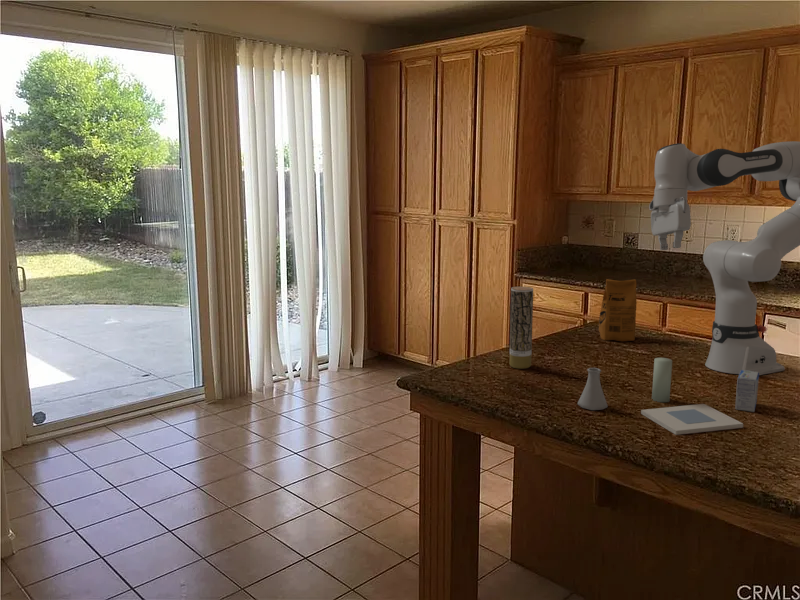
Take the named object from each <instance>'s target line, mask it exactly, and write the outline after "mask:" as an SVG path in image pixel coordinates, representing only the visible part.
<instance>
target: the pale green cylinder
mask: <svg viewBox="0 0 800 600" xmlns="http://www.w3.org/2000/svg"><path fill="white" fill-rule="evenodd" d="M653 362H654V363H653V373H652V374H653V375H652V391H651V400H652V399H653V400H652V401H654V402H656V401H657V403H669V402H670V397H671V386H672V385H671V383H672V373H673V372H672V370H673V359H671V358H667V357H655V358H654V360H653Z"/></svg>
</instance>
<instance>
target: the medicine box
mask: <svg viewBox="0 0 800 600" xmlns="http://www.w3.org/2000/svg"><path fill="white" fill-rule="evenodd" d="M759 379H760V375H759V372H754V371H746V370H741V371H740V374H738V377H737V381H736V393H735V395H736V396H735V404H734V405H735V407H734V408H735V410H738V411H743V412H751V413H755V411H756V407H757V404H758V403H757V402H758V390H759Z"/></svg>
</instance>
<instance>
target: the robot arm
mask: <svg viewBox="0 0 800 600" xmlns="http://www.w3.org/2000/svg"><path fill="white" fill-rule="evenodd" d="M653 171H654V172H653V173H654V175H653V176H654V180H655V187H654V191H653V193H654V194H653V197H652V200H651V202H650V203H649V206H648V208H649V211H651V212H650V228H651V229H650V231H651V234H652V236H654V237H655V236H657V239H658V243H659V250H660V251H667V250H668V249H669V243H668V240H667V238H668V235H671V234H673V236H674V238H673V241H672V248H673V249H680V248H681V247H682V240H683V238H684V232H686V231H689V230H690V229H691V227H692V222H691V221H692V220H691V218H692V217H691V206H690V205H689V203H688V192H689V191H691V192H699V191H704V190H707V189H711V188H714V187H723V186H726V185H729V184H731V183H732V182H734V181H735V180H737V179H738V178H740V177H744V176H750V175H751V177H752V178H753V179H754V180H756V181H758V182H776V181H777V182H778V186H779V187H778V188H779V192H780V195H782V197H783V198H785V199H786V200H788V201H792V202H794V203H793V205H791V206H790V208H788V209H785V210H784V211H782V212H781V213H779V214H777V215H775V216H774V217H772V218H771V219H769V220H768V221H766V222H764V223H762V224H761V225H760V226H759V228H758V229H757V231H756V232H757V233H756V234H757V235H756V237H755V238H753V239H752V240H749V241H748V240H747V241H737V240H730V239H728V240H727V239H725V240H719V241H714V242H711V243H709V244H708V245H707V247H706V248H705V250H704V252H703V255H702V259H703V260H702V261H703V264H704V265H705V267H706V269H707V270H708V272H709V273H710V274H709V275H710V276H711V279H712V283H713V287H714V293H715V308H714V310H715V311H714V320H713V321H712V327H711V329H712V330H711V334H712V335H711V336H712V339H711V344H710V349H709V353H708V356H707V358H706V361H705V364H704V365H705V367H706V368H708V369H710V370H713V371H716V372H721V373H726V374H731V375H733V374H734V375H739V374H740V371H741V370H746V371H754V372H759V376H762V375H768V374H772V373H778V372H784V371H785V369H786V368H785V366H784V365H783V364H781V363H779V362H777V352H776V350H775V348H774V346H773V347H772V346H771V344H769V343H768V342H766V341H765V340H764V339H763V338H762V337H761V336H760V333H763V334H765V333H766V332H767V330H768V327H766V325H764V326H763V325H759V324H756V318H757V316H756V315H757V308H758V306H757V305H758V300H757V297H756V295H755V294H754V293H753V292H752V289H751V288H750V285H749V282H752V283H754V282H756V283H757V282H769V281H771V280H773V279H775V278H776V276H777V275H778V274H779V272H780V270H781V267H782V259H783V258H784V257H785V256H786V255H788V254H789V253H790V252H791V251H793V250H795V249H797V248H798V247H799V246H800V141H781V142H773V143H767V144H764V145H762V146H759V147H756V148H754V149H753V150H752V151H746V152H745V151H744V152H737V151H733V150H730V149H726V148H716V149H714V150H711V151H709V152H707V153H705V154H701V155H699V154H696V153H695V152H693V151H692V150H690V149H689V148H687V146H686V144H685V143H681V142H680V143H678V142H677V143H671V144H669V145H665V146H663V147H661V148H659V149H658V150H657V151H656V154H655V160H654V170H653ZM759 332H760V333H759Z"/></svg>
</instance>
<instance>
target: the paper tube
mask: <svg viewBox="0 0 800 600" xmlns="http://www.w3.org/2000/svg"><path fill="white" fill-rule="evenodd" d="M509 310H510V317H509V318H510V319H509V321H510V322H509V366H510V367H511V368H513V369H518V370H519V369H521V370H524V369H529V368H530V367H531V366H532V352H533V351H532V348H533V347H532V346H533V340H532V339H533V319H534V318H533V313H534V288H533V287H530V286H512V287H511V288H510V309H509Z"/></svg>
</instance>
